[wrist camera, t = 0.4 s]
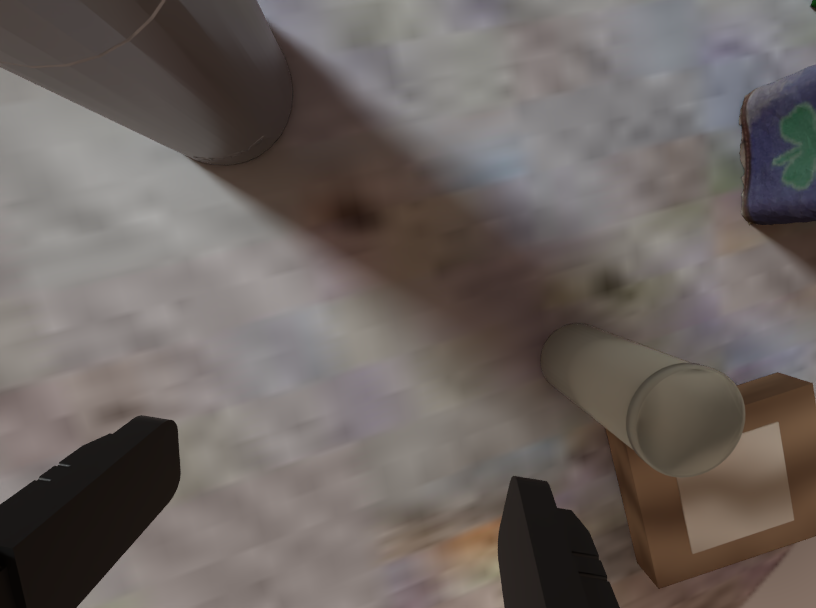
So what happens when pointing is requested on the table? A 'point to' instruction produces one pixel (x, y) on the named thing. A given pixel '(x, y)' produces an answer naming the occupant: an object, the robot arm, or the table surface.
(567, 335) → the canister
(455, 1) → the table surface
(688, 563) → the pedestal
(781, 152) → the flask
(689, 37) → the table surface
